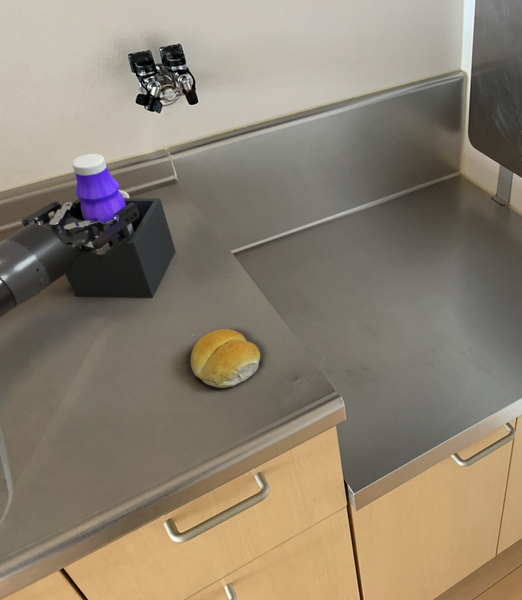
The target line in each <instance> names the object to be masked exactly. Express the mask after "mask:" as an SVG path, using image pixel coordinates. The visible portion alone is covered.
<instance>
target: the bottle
mask: <svg viewBox="0 0 522 600" xmlns="http://www.w3.org/2000/svg"><path fill="white" fill-rule="evenodd" d="M71 165H72V168H73V171H74V174H75V179H76V188H75V195H76V197H77V198H78V199H79V198H80V199H81V209H82V213H83V217H84V219H85V221H86V220H89V219H93V218H99V219H104V218H107V217H110V216H114V214H115V213H116V212H118V211H119V210H121V209H122V208H124V207H125V206H126V204H125V200H124V198H123V196H122V194H121V193H120V192H119V190H120V183H119V182H118V181H117V180H116V179H115V178H114V177H113V176H112V174H111V173H110V171H109V168H108V166H107V163H106V161H105V157H104V156H103V155H101V154H98V153H88V154H87V153H86V154H83V155H80V156H78V157H76V158H74V159H73V160H72V162H71ZM110 227H112V224H110V225H107V226H104V230H105V231H107V230H108V229H109V228H110ZM127 227H128V230H129V233H130V236H131V237H130V238H129V239H128V240H131V238H132V236H133V235H134V230H133V227H132V224H129V225H128V226H127ZM92 230H93V232H94V238H95V237H96V236H98V235H99V233H98V230H97V228H96V227H92ZM118 236H120V235H117V237H118Z"/></svg>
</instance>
